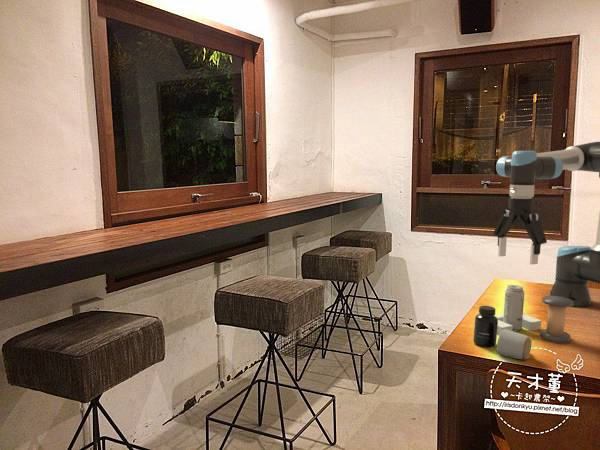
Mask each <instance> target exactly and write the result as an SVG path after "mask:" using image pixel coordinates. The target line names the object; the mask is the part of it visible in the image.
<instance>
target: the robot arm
mask: <svg viewBox="0 0 600 450" xmlns="http://www.w3.org/2000/svg"><path fill="white" fill-rule="evenodd" d="M495 169H496V172H497V174H498V176H500V177H505V178H510V181H509V198H508V209H502V210H501V215H500V218H499V219H498V222H497V224H496V225H495V228H494V231H493V235H494V236H495V235H496V237H497V247H498V254H497V257H505V256H507V255H506V254H507V238H508V237H507V234H508V233H509V232H510V231H511V229H513V228H514V226H515V225H516V226H519V227H522V228H524V230H525V231H526V233H527V234H528V236H529V239H530V240H531V242H532V244H531V245H530V254H529V255H530V256H529V265H538V264H539V263H538V262H539V256H540V254H541V248H542V247H541V246H542V245H544V244H547V238H546V235H545V232H544V228H543V226H542V223H541V215H540V213H532V210H533V209H534V199H533V198H534V196H535V184H536V183H535V182H536V180H553V179H557V178H558V177H560V176H561V174H562V172H563V170H564V171H565V170H567V171H570V172H576V171H578V172H579V171H582V172H590V173H591V172H593V173H599V174H598V178H599V179H600V141H592V142H587V143H583V144H577V145H572V146H571V145H570V146H568V147H566V148H565V149H561V150H560V149H559V150H554V151H545V152H537V151H536V150H515V151H513V152H512V154H511V156H510V155H507V156H506V155H505V156H502V157H500V158H498V160H497V161H496V165H495ZM597 223H598V224H597V232H596V239H595V244H594V245H593V246H592V247H591V246H588V245H564V246H560V247H559V248H558V249H557V253H556V254H557V255H556V263H555V264H556V267H555V279H554V284H553V285H552V288H551V290H550V291H549V295H548V296H559V297H564V298H568V299H571V300H572V301H573V306H572V307H577V308H579V307H580V308H581V307H589V306H591V304H592V297H591V294H590V290H589V286H588V283H589V282H592V283H595V284H599V285H600V211H599V214H598V222H597Z"/></svg>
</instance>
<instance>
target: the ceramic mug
mask: <svg viewBox="0 0 600 450" xmlns="http://www.w3.org/2000/svg"><path fill="white" fill-rule="evenodd" d="M531 350H532V338H531V337H530V336H528V335H526V334H522V333H519V332H517V331H510V330H506V329H503V330H502V331H501V332H500V335H498V338H497V341H496V351H497V354H498V355H502V356H505V357H510V358H514V359H517V360H520V361H523V360H525V361H526V360H527V359H529V356H530V354H531Z"/></svg>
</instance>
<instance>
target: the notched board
mask: <svg viewBox="0 0 600 450" xmlns="http://www.w3.org/2000/svg"><path fill="white" fill-rule="evenodd" d="M494 316H495V317H497V319H498V327H497V336H499V335H500V332H501V331H502V330H503V329H506V330H510V331H512V329H513V326H512V325H510V324H507V323H505V322H503V318H504V314H498V315H494ZM522 327H523V329H525V330H527V329H528V331H530V330H533V331H537V329H538V330H542V320H541V319H538V318H536V317H533V316H531V315H527V314H524V313H523V320H522Z"/></svg>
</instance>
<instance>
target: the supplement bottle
mask: <svg viewBox="0 0 600 450" xmlns="http://www.w3.org/2000/svg"><path fill="white" fill-rule="evenodd" d="M478 309H479V310H478V314H476V315H475V318H474V327H473V328H474V329H473V343H474V344H475V345H476V346H479V347H480V348H486V349H487V348H494V347H495V346H497V340H498V338H497V337H498V335H497V327H498V319H497V317H495V316H496V308H495V307H493V306H491V305H481V306H479V308H478Z"/></svg>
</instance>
